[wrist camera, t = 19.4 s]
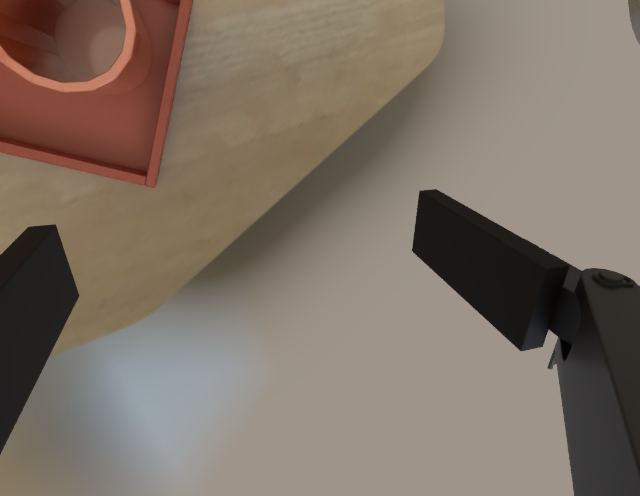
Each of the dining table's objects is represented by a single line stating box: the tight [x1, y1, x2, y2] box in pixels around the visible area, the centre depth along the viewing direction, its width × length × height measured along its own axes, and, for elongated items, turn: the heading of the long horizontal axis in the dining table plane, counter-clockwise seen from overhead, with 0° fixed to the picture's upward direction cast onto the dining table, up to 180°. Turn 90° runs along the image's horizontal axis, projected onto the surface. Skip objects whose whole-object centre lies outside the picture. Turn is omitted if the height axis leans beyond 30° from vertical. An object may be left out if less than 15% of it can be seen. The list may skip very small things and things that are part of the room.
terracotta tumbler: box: [0, 0, 153, 96], centre depth 24 cm, size 7×7×12 cm
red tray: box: [0, 0, 193, 188], centre depth 28 cm, size 17×15×3 cm
